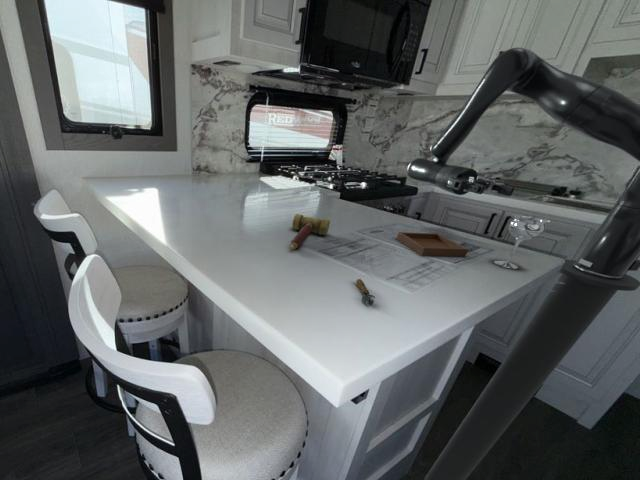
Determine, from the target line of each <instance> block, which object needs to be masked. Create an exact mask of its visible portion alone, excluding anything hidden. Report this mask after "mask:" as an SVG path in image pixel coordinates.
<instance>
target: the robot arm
mask: <svg viewBox="0 0 640 480" xmlns="http://www.w3.org/2000/svg"><path fill="white" fill-rule="evenodd" d="M506 91H507V92H509V93H513V94H516V95H518V96H521V97H523V98H525V99H528V100H530V101H532V102H533V103H535V104H536V105H537V106H538V107H540V108H541V109H542V110H543V111H544V112H545V114H547V115H548V116H549V117H551V118H552V119H554V120H555V121H556V122H558V123H559V124H561V125H562V126H564V127H566V128H568V129H570V130H572V131H573V132H575V133H578V134H580V135H582V136H583V137H584V136H585V137H586V138H589V139H591V140H595V141H597V142H601V143H603V144H606V145H609V146H611V147H615V148H617V149H619V150H621V151H623V152H624V153H626V154H627V155H629V156H630V157H631V158H633V159H635V160H636V161H637V162H639V163H640V104H638V103H637V102H636V101H634V100H632V99H631V98H629V97H628V96H626V95H625V94H623V93H621V92H619V91H617V90H615V89H613V88H611V87H609V86H607V85H604V84H602V83H600V82H597V81H595V80H592V79H590V78H586V77H584V76H580V75H576V74H573V73H569V72H566V71H563V70H561V69H559V68H557V67H555V66H553V65H552V64H550V63H549V62H548V61H546V60H544V59H543V58H542V57H540V56H539V55H538V54H537V53H536V52H534V51H532V50H530V49H528V48H524V47H512V48H509V49H507V50H505V51H503V52H501V53H500V54H499V55H498V56H497V57H496V58H495V59H494V60H493V61H492V62H491V64H490V65H489V67H488V68H487V70H486V71H485V73H484V75H483V76H482V77H481V79H480V81H479V83H478V84H477V86H476V87H475V88H474V90H473V92H472V93H471V95H469V97H468V98H467V100H466V101H465V103H464V105H463V106H462V107H461V108H460V110H459V111H458V112H457V114H456V115H455V116H454V117H453V119H452V120H451V121H450V123H449V124H447V126H445V127H446V128H444V129H443V131H442V132H441V133H440V134H439V136H438V137H437V138H436V139H435V140H434V141H433V143H432V144H431V145H430V148H429V151H430V153H431V155H433V156H434V158H433V160H431V159H427V158H424V157H418V158H415V159H413V160H412V161H410V162H409V164H408V165H407V168H406V174H407V176H408V178H410V179H412V180H414V181H417V182H421V183H424V184H428V185H429V186H433V187H435V188H438V189H441V190H442V191H444V192H448V193H451V194H453V195H456V196H463V195H466V194H468V193H474V194H477V195H482V194H483V193H484V194H490V193H495V194H499V195H504V196H507V197H511V196H512V195H513V193H514V191H515V187H514V186H510V185H509V183H507V182H501V181H497V180H494V179H488V178H485V177H482V176H479V174H478V172H477V170H476V169H474V168H470V167H467V166H461V165H456V164H452V165H451V164H448V161H449V159H450V157H451V156H452V155H453V154H454V153H455V152H456V150H458V148H459V147H460V146H461V145H462V144H463V143H464V141H465V140H466V139H467V138H468V137H469V135H470V134H471V133H472V131H473V129H474V128H475V127H476V126H477V124H478V122H479V120H480V119H481V118H482V116H483V115H484V114H485V113H486V112H487V110H488V109H489V108H490V107H491V106H492V104H493V103H495V101H497V100H498V99H499V98H500V97H501V96H502V95H503V94H504V93H506ZM639 258H640V168H639V169H638V171H637V172H636V174H635V175H634V177H633V178H632V179H631V181H630V182H629V184H628V185H627V186H626V188H625V189H624V190H623V192H622V193H621V195H620V197H618V199H617V201H616V203H615V204H614V206H612V208H611V210H609V212H608V214H607V216H606V217H605V218H604V220H603V221H602V223H601V225H600V226H599V227H598V229H597V230H596V232H595V233H594V235H592V238H591V239H590V240H589V242H588V243H587V245H586V246H585V248H584V249H583V250H582V252H581V253H580V255H579V256H578V258H577V260H576V262H575V263H574V264H573V267H574V268H575V269H577V270H579V271H581V272H584V273H586V274H589V275H593V276H596V277H600V278H605V279H612V280H619V279H621V278H622V277H624V276H625V274H627V273H628V272H629V271H633V272H636V271H637V272H638V270H639V269H640V259H639Z"/></svg>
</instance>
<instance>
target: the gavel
mask: <svg viewBox="0 0 640 480" xmlns="http://www.w3.org/2000/svg"><path fill="white" fill-rule="evenodd" d="M291 224H292V225H291V227H292V230H295V231H298V233H297V234H296V235H295V236H294V237H293V238H292V240H291V241H290V249H291V250H295V249H299V248H300V247H301V246H302V244H303V243H304V242H305V240H306V239H307V238H308V236H309V235H310V234H311V233H318V235H319V236H326V235H328V232H329V228H330V224H331V221H330V219H328V218H322V219H320V218H315V217H311V216H304V215H303V214H301V213H300V214H299V213H296V214H295V215H294V216H293V219H292V223H291Z"/></svg>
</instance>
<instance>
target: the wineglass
mask: <svg viewBox="0 0 640 480" xmlns="http://www.w3.org/2000/svg"><path fill="white" fill-rule="evenodd" d="M513 216H514V218H513V219H512V220H511V221H510V222H509V224H508V231H509V233H510V235H511V236H512V237H514V238H515V241H516V242H515V243H514V246H513V248H512V249H511V251H510V254H509V255H508V258H507V260H494V262H493V263H494V264H496V265H497V266H500V267H503V268H507V269H514V270H517V269H518V268H519V267H518V265H516V264H514V263H512V262H510V260H511V258H512V257H513V255H514V253H515V252H516V250H517V249H518V247H519V245H520V244H521V242H525V241H528V240H529V241H530V240H534V239H536V238H538V237H540V236H541V235H542V234H544V233H545V232H546V229H547V224H549V223H550V222H551V221H550V220H549V219H547V218H543V217H539V216H535V215H529V214H522V213H516V214H514V215H513Z"/></svg>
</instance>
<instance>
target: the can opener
mask: <svg viewBox="0 0 640 480" xmlns="http://www.w3.org/2000/svg"><path fill="white" fill-rule="evenodd" d="M356 285H357V286H358V288H359V289H360V291H361V292H362V294H363V295H362V296H361V299H362V301H363V302H364V303H366V304H367V305H369V306H370V305H374V302H375V300H374V299H376V296H375V295H373V294H370V291H369V290H368V288H367V287H366V285H365V283H364V281H363V280H362V279H361V278H358V279H356Z"/></svg>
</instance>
